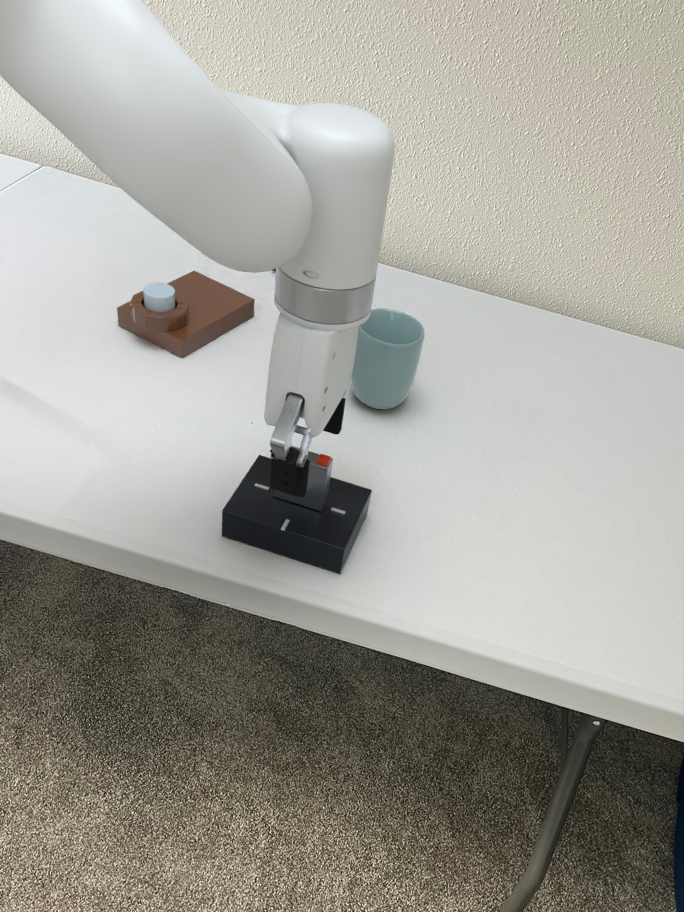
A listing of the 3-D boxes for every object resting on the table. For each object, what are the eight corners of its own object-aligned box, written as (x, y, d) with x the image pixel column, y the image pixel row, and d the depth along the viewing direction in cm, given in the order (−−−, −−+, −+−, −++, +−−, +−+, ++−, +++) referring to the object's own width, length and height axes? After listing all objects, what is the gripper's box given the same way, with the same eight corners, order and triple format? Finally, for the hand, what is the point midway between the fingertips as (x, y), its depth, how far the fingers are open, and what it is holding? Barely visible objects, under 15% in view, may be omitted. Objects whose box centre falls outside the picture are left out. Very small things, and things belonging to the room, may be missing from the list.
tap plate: (221, 537, 75) (221, 509, 72) (258, 479, 81) (259, 452, 79) (339, 575, 74) (344, 548, 71) (367, 514, 81) (372, 487, 78)
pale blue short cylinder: (161, 316, 92) (160, 301, 90) (137, 305, 93) (136, 289, 91) (181, 306, 94) (181, 290, 93) (158, 294, 95) (157, 279, 94)
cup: (419, 395, 97) (435, 324, 90) (392, 426, 92) (408, 353, 85) (364, 372, 99) (376, 300, 92) (334, 401, 93) (344, 327, 86)
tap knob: (272, 496, 75) (276, 450, 71) (278, 486, 76) (282, 440, 72) (321, 512, 74) (328, 466, 70) (327, 501, 76) (333, 456, 72)
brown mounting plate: (174, 362, 93) (173, 329, 90) (110, 329, 95) (107, 295, 92) (254, 316, 103) (255, 284, 100) (194, 287, 106) (193, 255, 103)
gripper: (315, 231, 66) (301, 397, 78) (232, 327, 54) (230, 506, 66) (400, 255, 66) (372, 418, 78) (335, 357, 53) (314, 532, 65)
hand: (307, 458), depth 72 cm, fingers open, 9 cm apart
